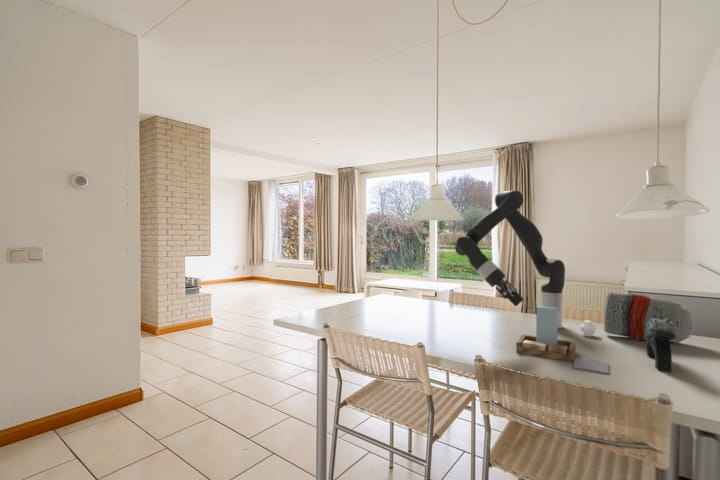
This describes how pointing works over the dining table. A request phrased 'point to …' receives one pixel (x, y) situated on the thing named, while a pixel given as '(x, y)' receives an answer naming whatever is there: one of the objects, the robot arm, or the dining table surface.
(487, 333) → the dining table surface
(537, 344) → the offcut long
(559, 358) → the rack
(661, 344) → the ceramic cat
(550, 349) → the offcut short
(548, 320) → the pale blue tall prism
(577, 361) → the mat
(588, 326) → the white rounded lump
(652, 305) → the grey red knit hat
